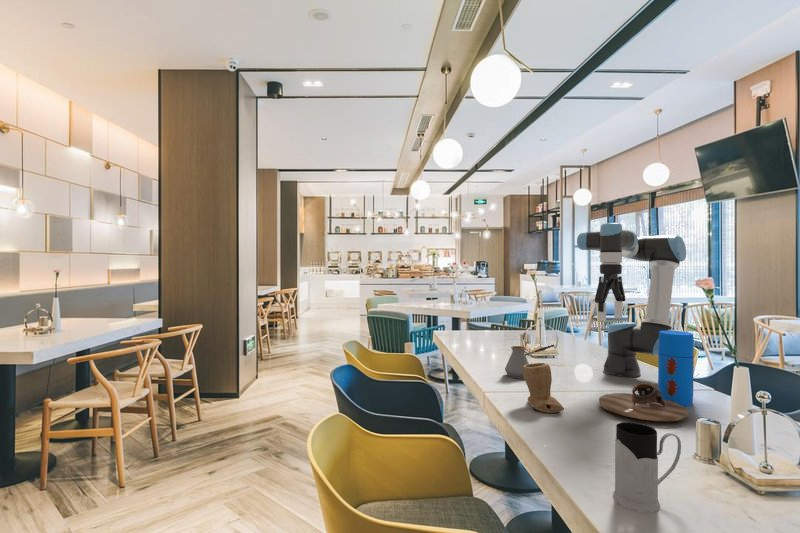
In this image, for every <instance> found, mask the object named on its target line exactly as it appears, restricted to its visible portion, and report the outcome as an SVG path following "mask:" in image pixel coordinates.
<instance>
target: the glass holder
mask: <svg viewBox="0 0 800 533" xmlns="http://www.w3.org/2000/svg"><path fill="white" fill-rule="evenodd" d="M615 433H616V434H615V442H614V443H615V444H614V446H615V448H614V457H615V458H614V491H613V492H612V499H613V500H614V501H615V502H616V503H617V504H618V505H620V506H622V507H623V508H625V509H629V510H631V511H635V512H639V513H655V512H657V511H659V510H660V509H661V504H660V501H659V498H658V496H659V493H658V492H659V490H658V489H659V485H660V484H662V482H663V481H664V480H665V479H666V478H667V477H669V475H671V473H672V472H673V471H674V470H675V469H676V467H677V464H679V460H680V456H681V454H682V441H681V438H680V437H679V436H678V435H676V434H675V433H671V432H668V433H665V434H663V435H662V436H661V437H660V441H659V449H658V430H656V429H655V428H654V427H651V426H649V425H646V424H642V423H637V422H631V421H630V422H629V421H628V422H624V421H623V422H619V423H617V424H616V425H615ZM670 436H673V437H675V438H676V441H677V442H676V443H677V451H676V455H675V457H674V461H673V462H672V464H671V466H670V467H669V468H668V470H667V471H666V472H665V473H664V474H663V475H662V476H661V477H659V455H661V454H662V453H663V449H664V442H665V441H666V439H667V438H668V437H670Z"/></svg>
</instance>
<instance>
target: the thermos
mask: <svg viewBox="0 0 800 533" xmlns="http://www.w3.org/2000/svg"><path fill="white" fill-rule="evenodd" d="M694 340H695V339H694V334H693V332H689V331H688V332H687V331H682V330H680V331H679V330H673V331H659V349H658V356H657V357H658V359H657V361H658V362H657V363H658V364H657V365H658V368H657V369H658V372H657V374H658V375H657V376H658V378H657V381H658V382H657V383H658V384H657V389H658V390H659V391H660V392H661V395H662V399H666V400H669V401H672V402H675V403H677V404H680V405H681V406H683V407H691V406H692V405H693V402H694V364H695V363H694V362H695V360H694V358H695V357H694V354H695V353H694V351H695V350H694V349H695V346H694V344H695V341H694Z"/></svg>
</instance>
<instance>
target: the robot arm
mask: <svg viewBox="0 0 800 533" xmlns="http://www.w3.org/2000/svg"><path fill="white" fill-rule="evenodd" d="M576 244H577V247H578V249H579V250H581V251H597V252H599V263H601V264H599V273H600V274H601V275H602V276H599V277H598V285H597V289H596V293H595V296H594V303H595V304H596V303H597V321H602V322H606V321H607V303H606V301H607V298H608V296H609V292H610V290H611V291H612V294H613V296H614V298H615V301H614V311H613V312H614V318H615V319H623V302H626V294H625V290H624V284H623V276H620V275H621V274H622V272H623V265H622V263H623V258H624V259H630V260H635V261H640V262H642V261H643V262H648V264H649V265H650V266H651V275H650V276H651V277H650V281H649V282H650V283H649V291H648V298H647V299H648V300H647V304H646V314H645V319H643V320H642V321H641V322H640V326H637V325H638V324H637V322H614V323H610V324H609V325H608V326H607V327H608V328H607V356H606V359H605V362H604V364H603V372H604V373H606V374H607V375H612V376H616V377H625V378H626V377H628V378H630V377H631V378H633V377H635V378H636V377H639V376H641V367H640V365H639V362H638V359H637V353H639V354H644V355H650V356H655V357H658V349H659V331H674V330H673V329H672V328H673V327H672V325H671V324H670V322H669V320H670V319H669V318H670V311H671V310H670V309H671V304H672V294H673V286H674V279H675V278H674V277H675V270H676V269H677V268H679V267H680V262H681V263H682V262H684V261H685V260H686V257H687V249H686V248H687V247H686V243H685V241H684V239H683V238H682V236H680V235H676V234H673V235H672V234H671V235H670V234H667V235H650V236H638V234H636V233H635V232H634V231H632V230H629V229H623V225H622V224H621V223H619V222H606V223H602V224H601V225H600V230H599V231H586V232H585V231H584V232H580V233H579V234H578V236H577V238H576Z"/></svg>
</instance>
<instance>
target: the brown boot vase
mask: <svg viewBox="0 0 800 533" xmlns="http://www.w3.org/2000/svg"><path fill="white" fill-rule="evenodd" d="M523 376H524V378H523V379H524V381H525V383H526V385H527V388H528V392H529V396H528V397H527V401H528V402H529V404H530V405H531V406H532V407H533V408H534V409H535V410H537V411H540V412H543V413H547V414H554V413H560V412H563V411H564V410H565V407H564V406H563V405H562V404H561V403H560V402H559V401H558V399H556V398H555V397H554V396H552V395H551V394H552V393H551V387H552V381H553V378H552V370H551V367H550V365H549V363H545V362H535V363H529V364H526V365H524V366H523Z"/></svg>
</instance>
